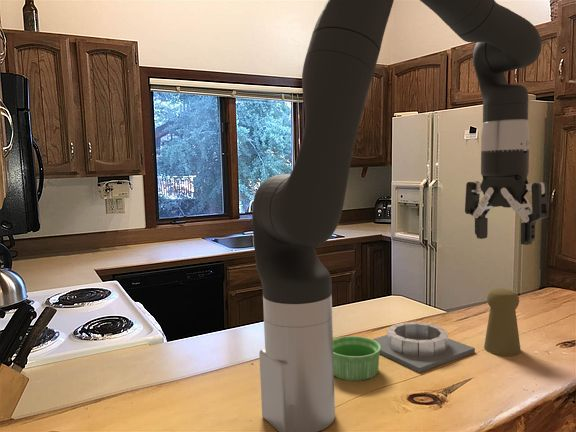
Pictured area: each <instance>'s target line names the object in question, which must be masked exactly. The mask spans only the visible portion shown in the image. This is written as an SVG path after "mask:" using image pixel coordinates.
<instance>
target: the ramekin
mask: <svg viewBox="0 0 576 432" xmlns="http://www.w3.org/2000/svg"><path fill="white" fill-rule="evenodd" d="M372 339H373V338H370V337H365V336H358V335H357V336H356V335H352V336H351V335H350V336H349V335H348V336H347V335H346V336H340V337H335V338H333V361H334V377H337V379H338V378H339V379H341V380H344V381H350V380H351V382H357V381H358V382H359V380H361V381H366V379H367V380H369V378H370V379H371V378H373V377H375V376H376V375H377V373H379V372H378V371H379V365H380V364H379V363H380V361H379V360H380V355H381V354H380V351H381V346H380V344H379V343H378V342H376V341H375V340H372ZM352 380H353V381H352Z"/></svg>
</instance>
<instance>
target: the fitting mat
mask: <svg viewBox="0 0 576 432" xmlns="http://www.w3.org/2000/svg"><path fill="white" fill-rule="evenodd" d="M404 338H407V339H414V340H431V339H428V338H422V337H404ZM371 339H372V340H375V341H376V342H378V343H379V344H380V346H381V351H380V354H379V355H381V356H383V357H386V358H387V359H389V360H391V359H392V360H391V361H393V362H396V363H397V364H399V365H403V366H405V367H407V368H408V369H410V370H413V371H414V372H417V373H418V374H419V373H422V372H425V371H428V370H430V369H433V368H436V367H438V366H442V365H444V364H447V363H449V362H452V361H455V360H458V359H461V358H464V357H466V356H468V355H472V354H475V353H476V352H475V351H476V350H475V349H476V348H475V347H473V346H470V345H467V344H466V343H465V344H464V343H463V342H459V341H456V340H454V339H451V338H449V337H448V348H447V350H446V352H445V353H442V354H439V355H436V356H425V357H419V356H418V357H417V356H410V355H404V354H401V353H399V352H396V351H394V350H392V349H391V348H390V347H389V345H388V344H387V334H386V335H382V336H378V337H376V338H371Z"/></svg>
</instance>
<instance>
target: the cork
mask: <svg viewBox="0 0 576 432" xmlns="http://www.w3.org/2000/svg"><path fill="white" fill-rule="evenodd" d="M486 302H487V304H488V306H489V313H488V320H487V327H486V333H485V338H484V345H483V348H484V350H485V351H486V352H488V353H489V354H493V355H496V356H501V357H514V356H518V355H520V354H521V352H522V349H521V343H520V336H519V335H520V334H519V333H520V332H519V327H518V319H517V311H516V310H517V308H518V306H519V304H520V297H519V295H518V293H517V292H516V291H514V290H512V289H509V288H493V289H491V290H489V292H488V293H487V295H486Z"/></svg>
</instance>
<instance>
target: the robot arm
mask: <svg viewBox="0 0 576 432" xmlns="http://www.w3.org/2000/svg"><path fill="white" fill-rule="evenodd" d="M394 1H395V0H327V1H326V3H325V5H324V7H323V8H322V10H321V13H320V14H319V16H318V18H317V20H316V22H315V25H314V28H313V31H312V33H311V37H310V41H309V44H308V47H307V51H306V53H305V58H304V62H303V66H302V74H301V88H302V98H303V107H304V119H305V120H304V129H303V131H304V132H303V136H302V140H301V143H300V146H299V150H298V153H297V156H296V160H295V163H294V165H293V167H292V170H291V173H280V174H276V175H273V176H271V177H268V178H267V179H265V180H264V181H263V182H262V183H261V184H260V186H259V187H258V188H257V190H256V192H255V195H254V198H253V202H252V210H251V211H252V212H251V220H252V233H253V245H254V246H253V247H254V258H255V267H256V271H257V274H258V277H259V279H260V284H261V287H262V303H263V305H262V306H263V309H262V310H263V327H264V328H263V329H264V330H263V332H264V348H263V349H260V350H259V374H260V375H259V376H260V377H259V378H260V397H261V398H260V399H261V416H262V418H263V419H265V420H266V421H267V422H268V423H269V424H270V425H271V426H272V427H273V428H274V429H275V430H276V431H278V432H320V431H323V430H325V429H326V428H328V427H329V426H331V425H332V424H333V422H334V420H335V418H336V407H335V406H336V405H335V403H336V401H335V399H336V397H335V376H334V361H333V339H334V335H333V332H334V331H333V298H332V297H333V295H332V293H333V290H332V287H333V286H332V284H333V283H332V276H331V274H330V272H329V270H328V269H327V268H326V266H324V265H323V263H322V261H321V260H320V258H319V256H318V254H317V252H316V247H319V246H321V245H323V244H324V243H326V242H327V241H328V240H329V239H330V238H331V237H332V236H333V234H334V232H336V230H337V228H338V225H339V224H340V221H341V218H342V214H343V213H342V212H343V209H344V204H345V198H346V193H347V192H346V191H347V187H348V179H349V174H350V168H351V162H352V157H353V156H352V155H353V152H354V146H355V142H356V139H357V135H358V131H359V127H360V123H361V119H362V116H363V112H364V108H365V104H366V100H367V96H368V94H369V91H370V87H371V84H372V81H373V77H374V74H375V70H376V66H377V63H378V59H379V56H380V52H381V48H382V43H383V41H384V34H385V32H386V29H387V28H386V27H387V26H388V25H387V24H388V22H389V17H390V15H391V11H392V8H393V5H394ZM419 1H420V2H421V3H423V4H424V5H425V6H426V7H428V9H430V10H431V11H433V13H434V14H435V15H437V16H438V17H439V18H440V19H441V20H442V21H443V22H444V24H446V26H448V27H449V28H450V29H451V30H452V31H453V32H454V33H455V35H457V36H458V37H459V38H460V39H462V40H463V41H464V42H465V43H475V45H474V48H473V51H472V52H473V53H472V64H473V67H474V68H473V69H474V72H475V76H476V78H477V81H478V86H479V90H480V93H481V97H482V129H481V134H480V135H481V136H480V175H481V176H482V181H481V182H480V181H477V180H476V181H468V182H466V185H465V202H464V212H465V214H466V215H470V216H472V217H473V218H474V234H475V236H476V239H479V240H480V239H481V240H482V239H487V238H488V230H489V229H488V223H489V220H488V217H487V216H488V214H489V213H490V212H491V210H493V209H494V208H495V207H496V208H499V207H501V208H507V209H508V208H509V209H510V208H512V210H513V211H514V212H515V213H516V214H518V216H519V217H520V219H521V221H522V222H521V223H520V244H521V245H524V246H527V245H532V244H533V242H534V241H535V240H536V239H535V238H536V223H537V222H538V221H539V220H543V219H547V218H548V217H549V201H548V200H549V198H548V197H549V196H548V184H547V182H545V181H543V182H533V183H529V180H528V175H529V169H530V166H529V165H530V164H529V163H530V145H531V144H530V129H529V128H530V127H529V121H528V120H529V91H528V88H526V87H525V86H524V85H522V84H513V83H508V81H507V79H506V76H505V72H511V71H515V70H520V69H525V68H527V67H529V66H531V65H533V64H534V63H535V62H536V61H537V60H538V59H539V57H540V55H541V52H542V48H543V47H542V46H543V45H542V38H541V35H540V31H539V30H538V29H537V28H536V26H535V25H534V24H532V22H531V21H530V20H528V19H526V18H525V17H523V16H521V15H519V14H518V13H516V12H514V11H513V10H511V9H510V8H507V7H505V6H503V5H501V4H499V3H497V2H496V0H419ZM481 192H482V194H483V197H482V198H481V199H480V195H481ZM528 192H529V193H528ZM527 193H528V194H529V195H530V196H531V203H530V201H529V200H528V198H527V197H526V195H527Z"/></svg>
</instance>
